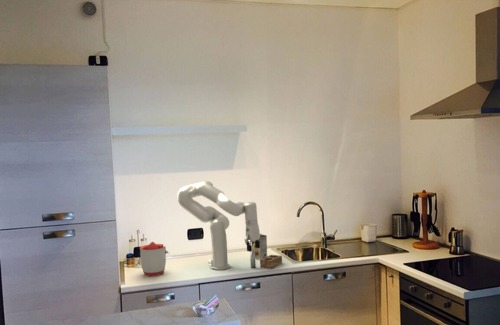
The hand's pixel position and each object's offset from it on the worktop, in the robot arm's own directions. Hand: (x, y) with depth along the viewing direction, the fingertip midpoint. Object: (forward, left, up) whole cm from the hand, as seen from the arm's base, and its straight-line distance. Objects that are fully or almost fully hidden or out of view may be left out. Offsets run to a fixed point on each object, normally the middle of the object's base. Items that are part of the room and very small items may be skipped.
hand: (253, 249), depth 291 cm
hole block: (+7, +9, -12) cm, 16 cm away
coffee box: (-9, +22, -12) cm, 26 cm away
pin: (-1, 0, -12) cm, 12 cm away
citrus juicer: (-51, -34, -12) cm, 62 cm away
